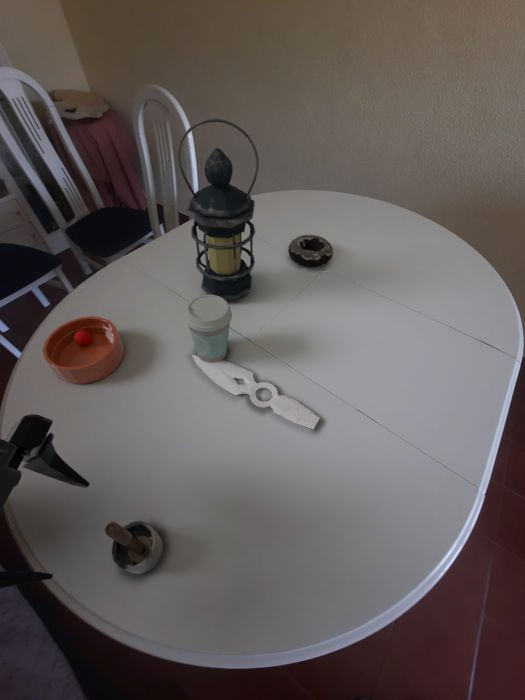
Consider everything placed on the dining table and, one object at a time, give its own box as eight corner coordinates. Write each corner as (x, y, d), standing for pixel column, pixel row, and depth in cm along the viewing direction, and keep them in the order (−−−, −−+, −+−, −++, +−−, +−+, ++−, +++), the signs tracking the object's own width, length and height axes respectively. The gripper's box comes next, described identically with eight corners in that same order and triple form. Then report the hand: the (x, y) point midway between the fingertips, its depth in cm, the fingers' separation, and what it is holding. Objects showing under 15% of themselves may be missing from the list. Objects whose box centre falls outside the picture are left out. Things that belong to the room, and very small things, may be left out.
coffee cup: (186, 343, 70) (178, 297, 62) (226, 334, 73) (223, 288, 64) (196, 373, 65) (188, 328, 56) (238, 362, 67) (237, 317, 59)
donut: (330, 246, 94) (333, 233, 91) (331, 272, 87) (334, 259, 84) (289, 243, 95) (290, 230, 92) (286, 268, 87) (287, 255, 84)
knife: (308, 438, 58) (309, 436, 57) (181, 366, 67) (181, 363, 66) (323, 411, 61) (324, 409, 60) (201, 346, 70) (200, 344, 69)
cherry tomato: (79, 351, 68) (72, 340, 65) (76, 340, 70) (70, 329, 67) (95, 345, 69) (89, 334, 66) (92, 335, 70) (86, 324, 68)
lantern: (192, 305, 78) (161, 134, 51) (202, 270, 86) (180, 106, 59) (254, 309, 78) (256, 138, 51) (258, 273, 86) (261, 110, 59)
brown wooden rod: (133, 568, 45) (97, 550, 35) (127, 544, 47) (91, 520, 36) (156, 555, 46) (129, 534, 36) (150, 532, 48) (121, 505, 37)
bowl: (60, 395, 62) (47, 380, 58) (51, 346, 69) (39, 329, 65) (132, 369, 66) (125, 353, 62) (116, 325, 73) (109, 308, 70)
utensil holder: (127, 582, 44) (117, 578, 41) (118, 541, 47) (107, 534, 44) (167, 560, 46) (161, 554, 43) (156, 521, 49) (148, 513, 46)
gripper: (-216, 630, 19) (58, 645, 27) (-16, 368, 31) (134, 432, 39) (-202, 618, 26) (17, 633, 34) (-41, 404, 38) (93, 453, 46)
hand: (71, 527), depth 38 cm, fingers open, 9 cm apart
